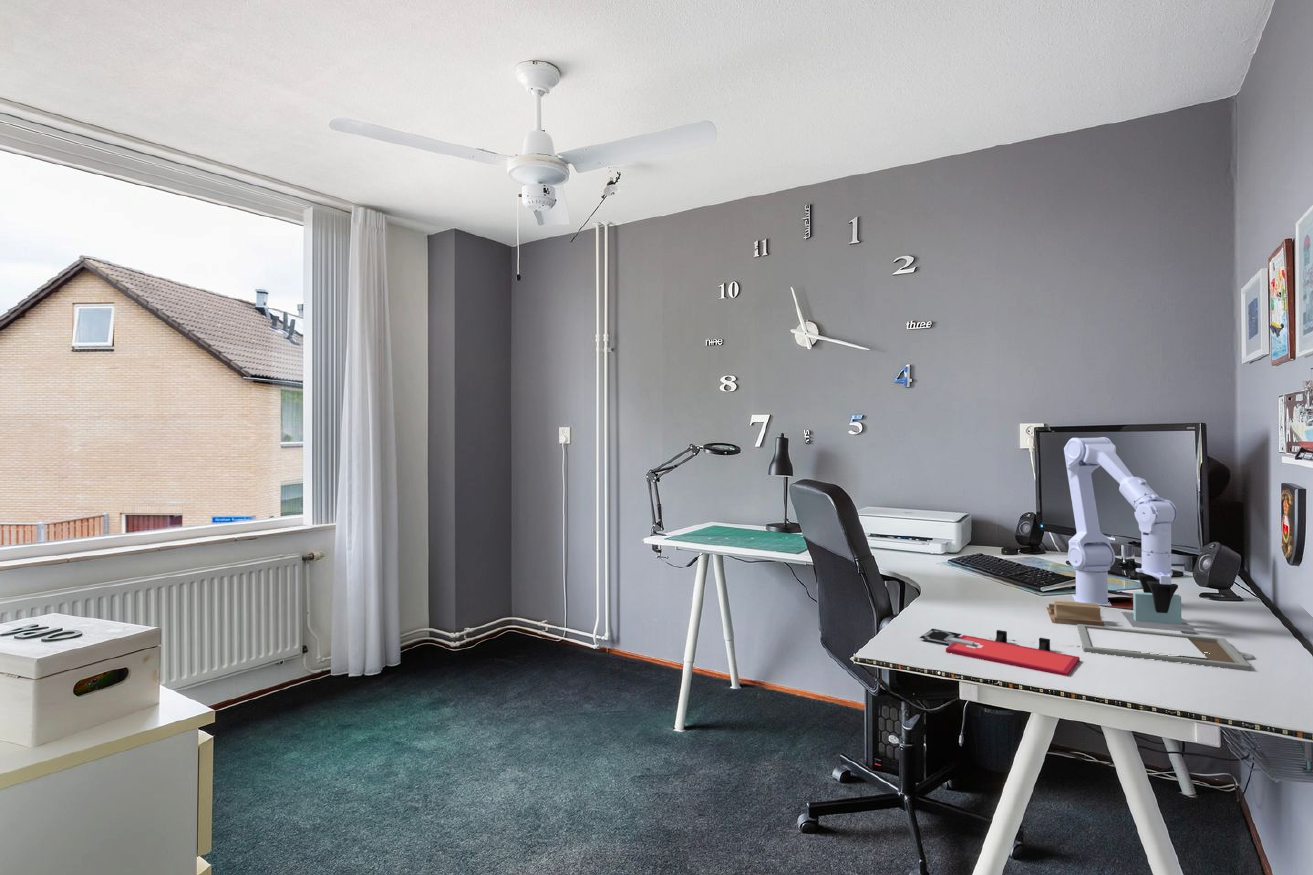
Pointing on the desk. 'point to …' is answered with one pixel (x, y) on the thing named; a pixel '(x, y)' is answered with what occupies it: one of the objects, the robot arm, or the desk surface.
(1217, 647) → the grey flat rectangular frame
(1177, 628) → the mat
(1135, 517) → the robot arm
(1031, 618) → the desk surface
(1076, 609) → the offcut
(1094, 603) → the offcut
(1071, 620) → the rack
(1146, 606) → the pale teal block
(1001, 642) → the red board with handle
